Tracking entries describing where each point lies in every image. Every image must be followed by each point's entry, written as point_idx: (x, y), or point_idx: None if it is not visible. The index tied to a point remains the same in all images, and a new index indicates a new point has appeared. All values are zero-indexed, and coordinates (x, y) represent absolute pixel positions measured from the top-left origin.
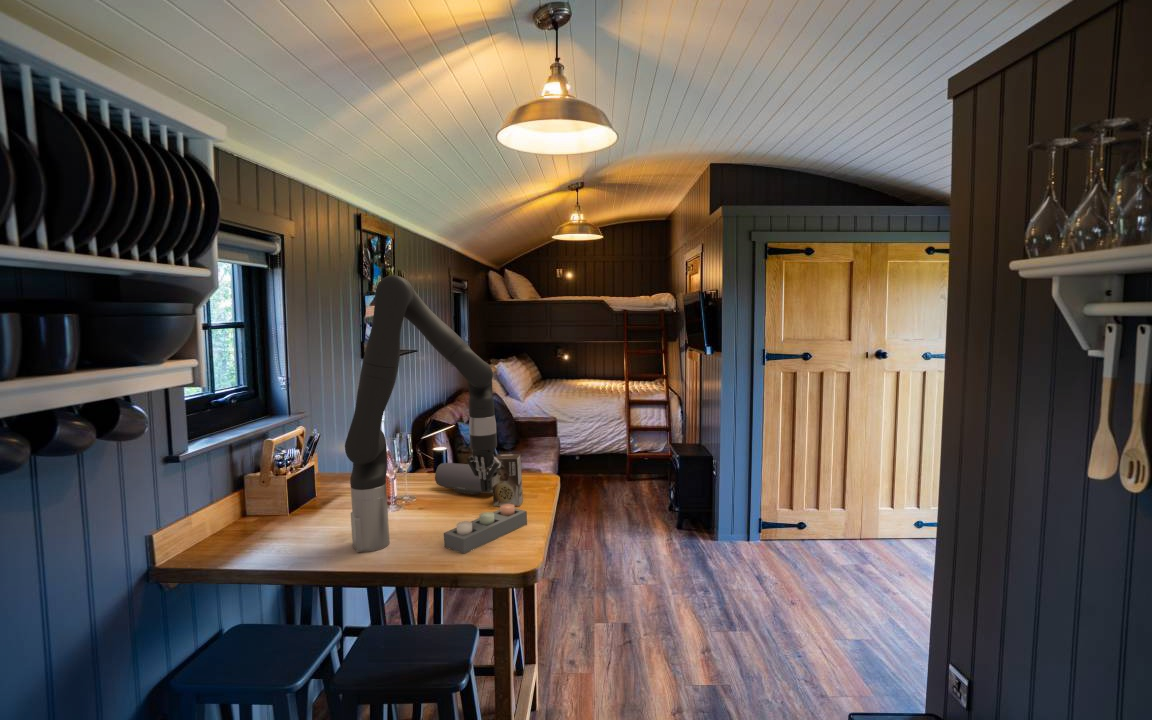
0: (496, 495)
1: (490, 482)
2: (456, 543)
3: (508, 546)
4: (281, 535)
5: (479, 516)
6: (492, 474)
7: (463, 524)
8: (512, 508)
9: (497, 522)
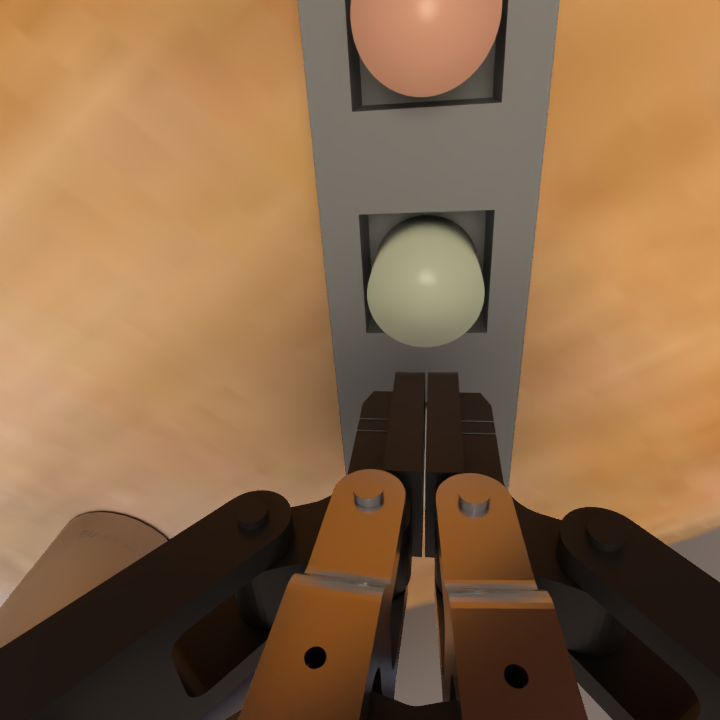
0: None
1: (497, 462)
2: None
3: (659, 291)
4: None
5: (394, 336)
6: (692, 692)
7: (424, 479)
8: (499, 9)
9: (507, 246)
